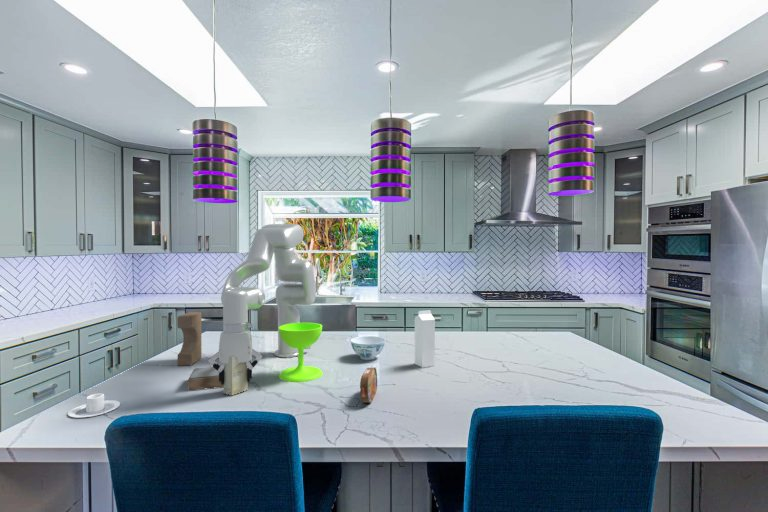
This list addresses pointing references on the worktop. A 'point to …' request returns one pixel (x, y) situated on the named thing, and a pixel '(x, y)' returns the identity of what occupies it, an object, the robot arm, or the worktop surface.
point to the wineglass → (300, 349)
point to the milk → (424, 339)
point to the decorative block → (190, 338)
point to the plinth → (204, 378)
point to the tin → (368, 385)
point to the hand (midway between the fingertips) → (235, 381)
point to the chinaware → (368, 346)
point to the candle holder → (94, 405)
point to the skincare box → (235, 377)
